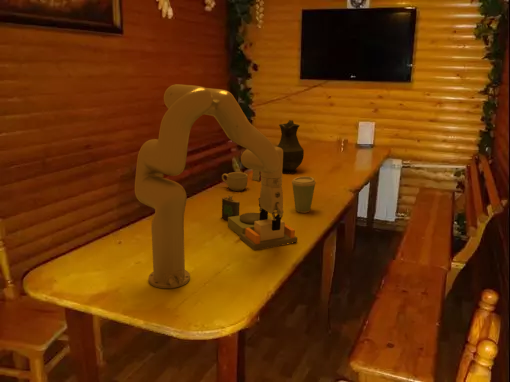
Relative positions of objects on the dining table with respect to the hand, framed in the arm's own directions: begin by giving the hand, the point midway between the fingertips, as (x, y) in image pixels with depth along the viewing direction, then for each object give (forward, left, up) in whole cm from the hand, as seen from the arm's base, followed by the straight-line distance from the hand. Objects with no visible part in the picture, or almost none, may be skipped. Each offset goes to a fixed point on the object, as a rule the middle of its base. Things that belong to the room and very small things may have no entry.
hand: (269, 225), depth 175 cm
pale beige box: (0, 0, -4) cm, 4 cm away
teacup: (+71, -17, -7) cm, 74 cm away
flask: (+28, +4, -7) cm, 29 cm away
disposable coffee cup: (+27, -31, -7) cm, 42 cm away
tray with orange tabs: (+8, 0, -6) cm, 10 cm away
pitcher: (+95, -64, -7) cm, 115 cm away
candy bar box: (+85, -39, -7) cm, 94 cm away
